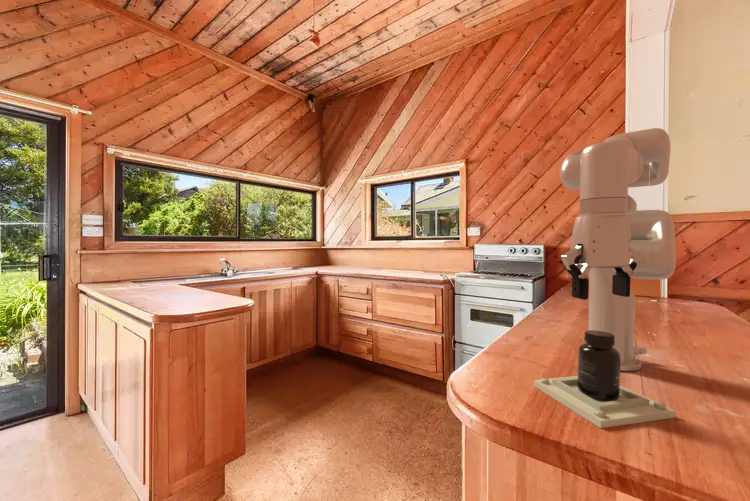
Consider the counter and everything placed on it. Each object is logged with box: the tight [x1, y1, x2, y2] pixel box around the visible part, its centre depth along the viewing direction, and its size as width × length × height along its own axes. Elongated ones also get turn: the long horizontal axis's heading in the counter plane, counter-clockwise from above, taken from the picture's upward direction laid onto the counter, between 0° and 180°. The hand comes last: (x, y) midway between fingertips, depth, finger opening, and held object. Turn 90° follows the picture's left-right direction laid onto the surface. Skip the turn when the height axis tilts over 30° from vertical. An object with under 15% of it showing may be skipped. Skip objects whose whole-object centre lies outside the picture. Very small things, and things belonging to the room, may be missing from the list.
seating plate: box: [533, 375, 676, 429], centre depth 63 cm, size 16×16×2 cm
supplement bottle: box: [577, 330, 621, 401], centre depth 63 cm, size 7×7×12 cm
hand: (600, 296), depth 62 cm, fingers open, 9 cm apart
